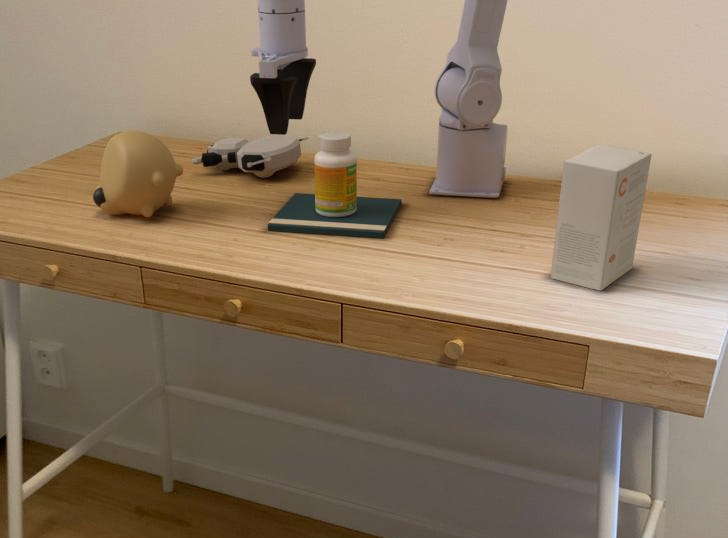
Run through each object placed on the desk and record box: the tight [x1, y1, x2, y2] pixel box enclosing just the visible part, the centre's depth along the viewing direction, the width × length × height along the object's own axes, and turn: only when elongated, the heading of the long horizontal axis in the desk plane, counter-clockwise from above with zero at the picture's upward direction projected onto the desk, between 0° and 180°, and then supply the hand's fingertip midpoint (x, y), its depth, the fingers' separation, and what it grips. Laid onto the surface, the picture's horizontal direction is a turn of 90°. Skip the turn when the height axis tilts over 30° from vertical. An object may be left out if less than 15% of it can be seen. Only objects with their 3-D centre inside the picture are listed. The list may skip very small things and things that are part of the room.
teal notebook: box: [267, 192, 403, 239], centre depth 121 cm, size 15×13×1 cm
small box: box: [550, 143, 653, 291], centre depth 100 cm, size 8×6×13 cm
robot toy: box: [191, 135, 310, 179], centre depth 138 cm, size 12×4×15 cm
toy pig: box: [92, 130, 184, 218], centre depth 122 cm, size 10×12×11 cm
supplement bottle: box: [313, 130, 358, 217], centre depth 118 cm, size 5×5×10 cm
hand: (286, 126), depth 120 cm, fingers open, 7 cm apart
